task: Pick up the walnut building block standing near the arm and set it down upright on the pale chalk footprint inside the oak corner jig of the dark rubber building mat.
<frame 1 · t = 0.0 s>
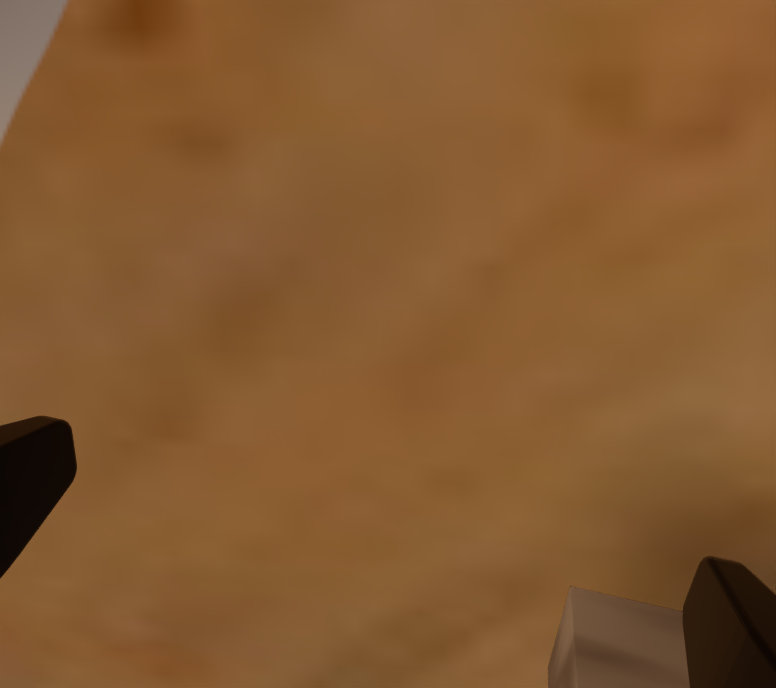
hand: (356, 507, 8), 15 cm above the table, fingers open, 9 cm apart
walnut block: (616, 641, 27), on the table
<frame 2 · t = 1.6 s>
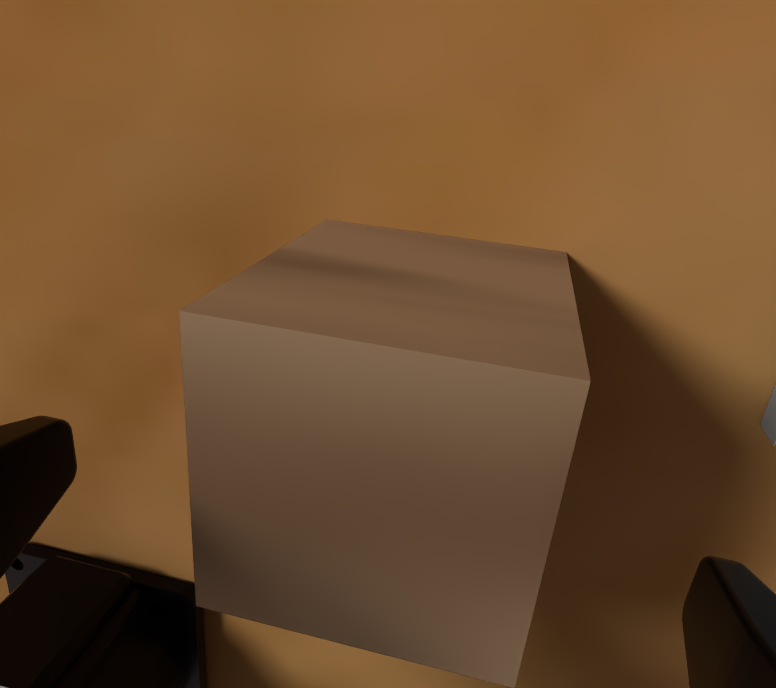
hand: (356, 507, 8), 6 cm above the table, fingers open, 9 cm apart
walnut block: (429, 344, 14), on the table
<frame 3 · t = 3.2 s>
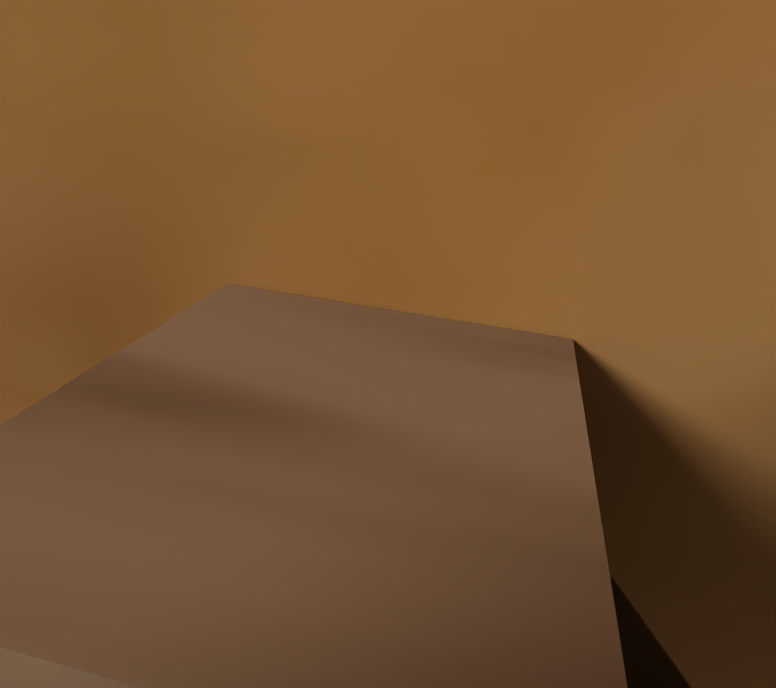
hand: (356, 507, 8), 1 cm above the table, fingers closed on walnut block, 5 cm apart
walnut block: (377, 458, 10), on the table, touching gripper
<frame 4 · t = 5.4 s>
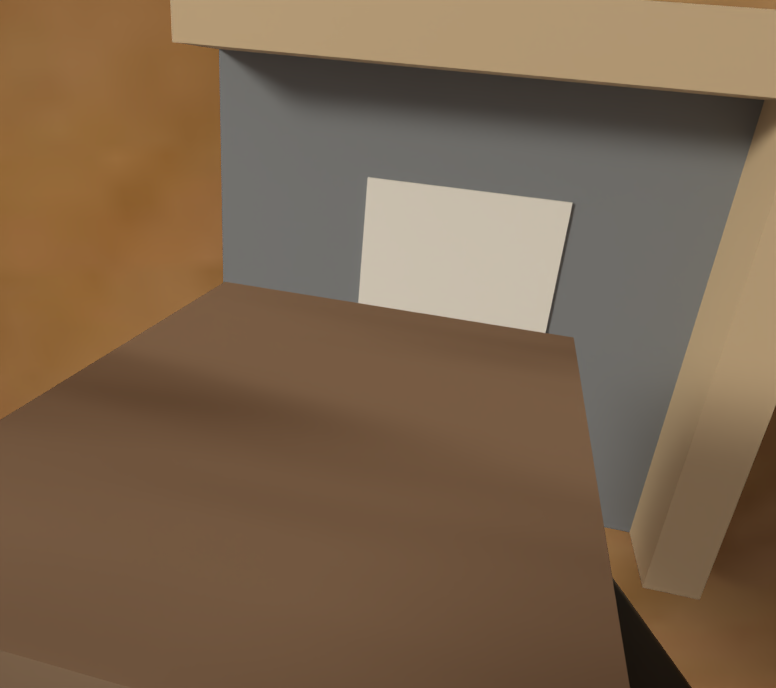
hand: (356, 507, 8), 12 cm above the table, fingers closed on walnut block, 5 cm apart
building mat: (472, 281, 19), on the table
walnut block: (376, 457, 9), point 11 cm above the table, touching gripper
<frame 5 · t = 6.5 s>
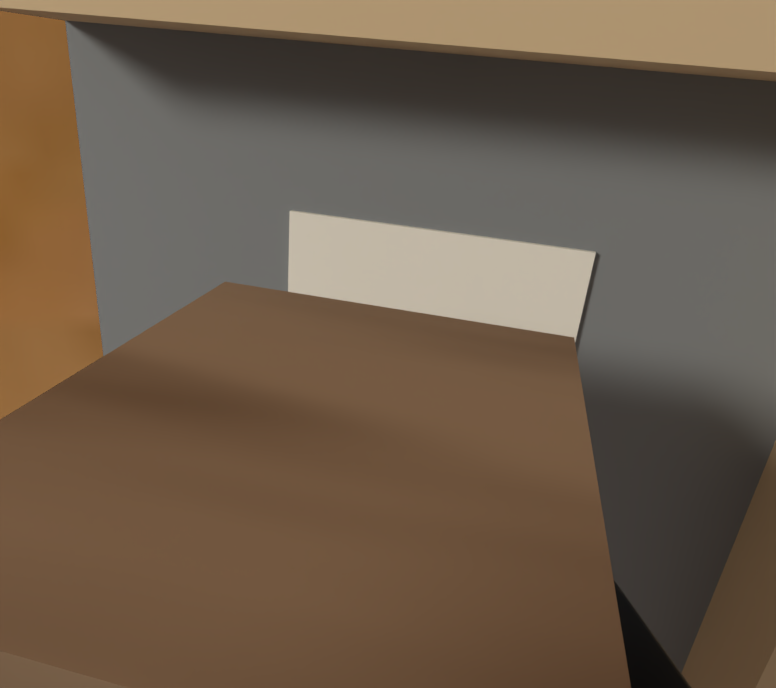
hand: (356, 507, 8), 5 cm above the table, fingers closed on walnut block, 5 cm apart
building mat: (449, 356, 13), on the table
walnut block: (376, 457, 9), point 4 cm above the table, touching gripper
when the fingers open (4 cm above the table, at t = 7.6 s): walnut block drops 2 cm, resting on building mat.
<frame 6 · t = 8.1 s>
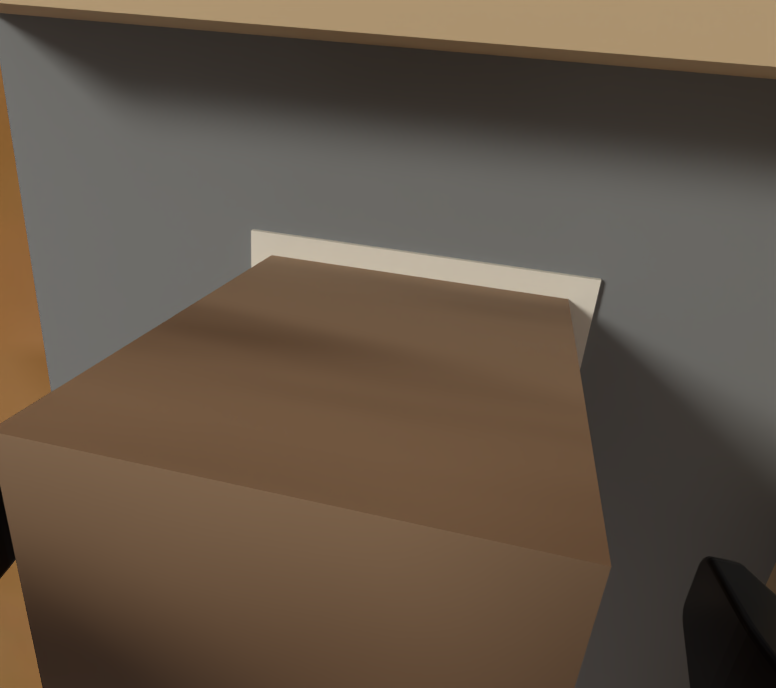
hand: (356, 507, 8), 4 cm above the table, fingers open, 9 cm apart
building mat: (435, 391, 12), on the table
walnut block: (399, 407, 11), point 1 cm above the table, touching building mat
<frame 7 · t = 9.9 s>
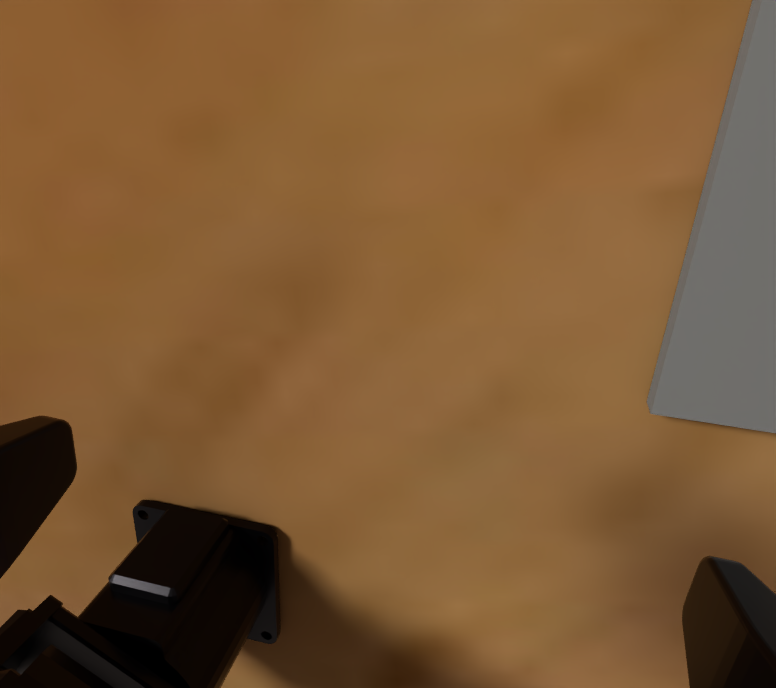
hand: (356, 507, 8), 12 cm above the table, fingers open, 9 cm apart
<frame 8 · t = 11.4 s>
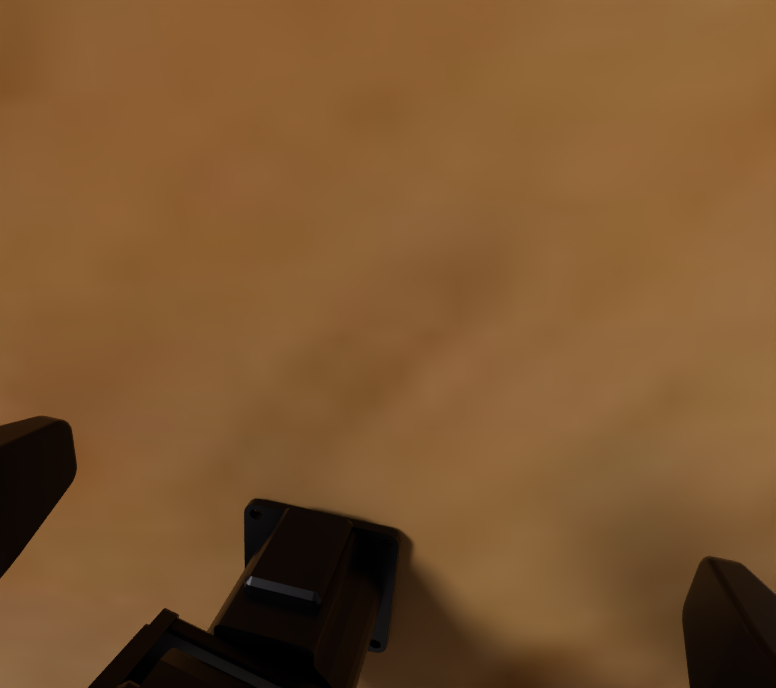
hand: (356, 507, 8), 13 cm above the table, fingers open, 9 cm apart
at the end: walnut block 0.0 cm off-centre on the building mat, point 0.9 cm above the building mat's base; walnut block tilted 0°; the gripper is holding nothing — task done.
